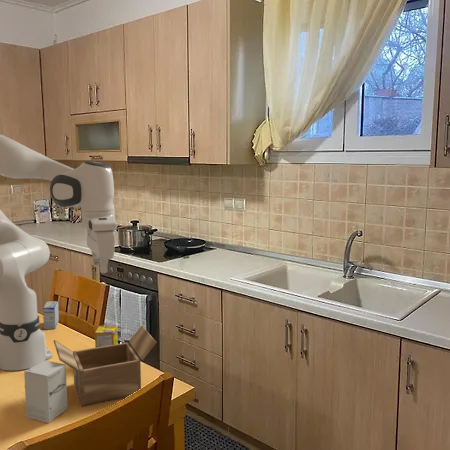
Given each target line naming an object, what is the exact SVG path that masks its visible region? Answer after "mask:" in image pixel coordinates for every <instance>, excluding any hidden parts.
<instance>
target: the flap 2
mask: <svg viewBox="0 0 450 450" xmlns="http://www.w3.org/2000/svg"><path fill="white" fill-rule="evenodd" d="M128 343H129V345H130V346H131V348H132V349H133V350H134V352H135V353H137V354H136V355H137V356H138V358H139V359H141V361H143V360H144V359H145V357H147V355H148V354H149V353H150V352H151V350H152V349H153V348H154V347H155V345H157V343H158V342H157V341H156V340H155V339H154V337H152V335H151V334H150V333H149V332H148V330H147V329H146V328H145V327H144V326H143V325H141V326H140V327H139V329H137V331H136V332H135V333H134V334H133V336H132V337H131V338H130V339H129V340H128Z"/></svg>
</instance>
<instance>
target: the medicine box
mask: <svg viewBox="0 0 450 450" xmlns="http://www.w3.org/2000/svg"><path fill="white" fill-rule="evenodd" d="M59 313H60V312H59V301H55V300H53V301H51V300H49V301H46V302H45V304H44V305H43V307H42V319H43V320H42V321H43V330H56V329H55V328H57V327H58V324H59V321H60V320H59V319H60V316H59ZM53 328H54V329H53Z"/></svg>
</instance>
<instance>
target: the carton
mask: <svg viewBox="0 0 450 450" xmlns="http://www.w3.org/2000/svg"><path fill="white" fill-rule="evenodd" d="M72 353H73V356H74V358H75V361H76V363H77V366H78V368H79V371H78V372H77V371H76V370H74V369H73V368H72V369H73V385H74V388H75V392H76V394H77V396H78V399H79V402H80V403H79V404H80V405H81V407H82V408H84V407H89V406H93V405H98V404H102V403H103V404H104V403H108V402H111V401H117V400H122V399H126V398H125V397H127V396H129V395H131V394H133V393H134V392H136V391H138V390H139V389H141V390H142V380H141V379H142V378H141V377H142V376H141V375H142V373H141V360H140V359H141V358H140V357H139V355H138V354H136V351H135V350H134V348H133V347H132V345H131V344H130V342H129V341H128V342H122V343H118V344H115V345H109V346H102V347H96V348H95V347H92V348H91V347H90V348H86V349H79V350H73V351H72ZM127 398H128V397H127Z"/></svg>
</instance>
